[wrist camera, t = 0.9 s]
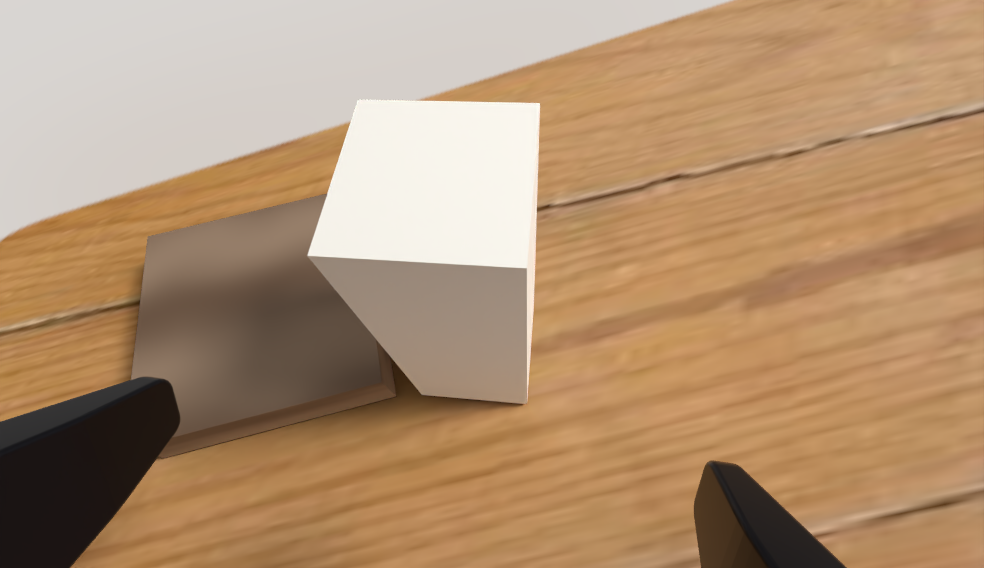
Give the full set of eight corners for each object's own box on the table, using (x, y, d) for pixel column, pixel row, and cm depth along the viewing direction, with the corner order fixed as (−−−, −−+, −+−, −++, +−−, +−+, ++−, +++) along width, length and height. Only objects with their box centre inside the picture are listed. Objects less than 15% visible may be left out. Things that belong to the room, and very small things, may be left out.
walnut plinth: (396, 396, 22) (381, 382, 20) (164, 457, 22) (122, 450, 19) (368, 214, 27) (354, 187, 25) (179, 260, 27) (147, 236, 24)
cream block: (526, 404, 22) (527, 268, 10) (422, 394, 22) (307, 255, 11) (533, 306, 24) (540, 103, 12) (438, 299, 24) (358, 99, 13)
